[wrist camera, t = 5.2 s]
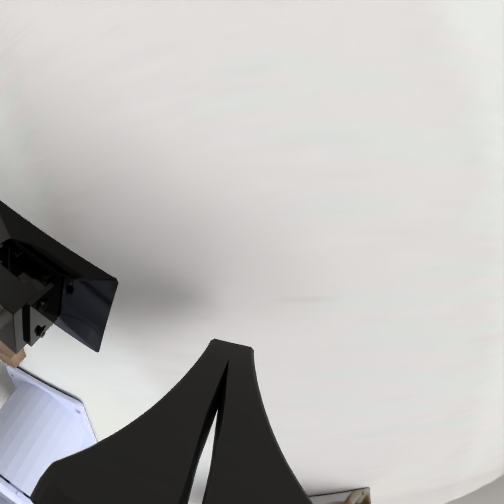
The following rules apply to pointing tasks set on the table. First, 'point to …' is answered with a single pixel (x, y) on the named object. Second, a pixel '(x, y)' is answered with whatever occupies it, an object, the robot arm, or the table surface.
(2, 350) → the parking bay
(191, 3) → the table surface
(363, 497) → the coffee box
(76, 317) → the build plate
